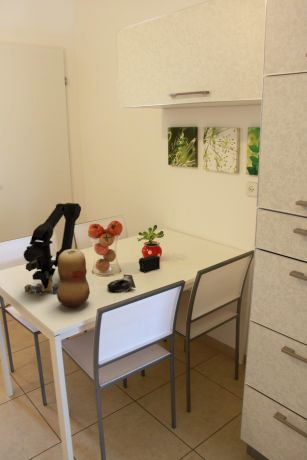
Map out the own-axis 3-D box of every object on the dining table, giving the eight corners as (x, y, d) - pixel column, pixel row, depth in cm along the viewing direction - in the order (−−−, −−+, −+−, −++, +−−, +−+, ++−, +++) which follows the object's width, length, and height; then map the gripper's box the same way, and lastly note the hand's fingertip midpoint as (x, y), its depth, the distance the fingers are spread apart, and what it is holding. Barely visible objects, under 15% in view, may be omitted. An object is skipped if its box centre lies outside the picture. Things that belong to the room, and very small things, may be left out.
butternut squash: (66, 315, 159) (61, 258, 153) (53, 304, 170) (48, 250, 163) (96, 306, 167) (92, 251, 161) (82, 296, 178) (78, 243, 171)
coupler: (44, 287, 184) (43, 274, 183) (53, 287, 184) (51, 274, 182) (42, 290, 180) (40, 277, 179) (50, 290, 180) (49, 277, 178)
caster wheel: (106, 294, 185) (122, 285, 191) (121, 297, 176) (136, 287, 183) (102, 282, 183) (118, 273, 190) (116, 283, 175) (132, 274, 181)
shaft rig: (23, 293, 181) (22, 286, 180) (26, 289, 186) (26, 282, 185) (69, 294, 180) (69, 286, 179) (72, 290, 184) (71, 282, 183)
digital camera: (153, 266, 214) (153, 254, 212) (159, 268, 210) (159, 256, 208) (138, 270, 208) (138, 258, 206) (144, 273, 204) (143, 260, 202)
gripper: (34, 248, 187) (37, 278, 191) (19, 262, 169) (23, 294, 173) (56, 248, 187) (59, 278, 191) (44, 262, 169) (47, 295, 173)
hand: (47, 286), depth 182 cm, fingers closed on coupler, 4 cm apart
